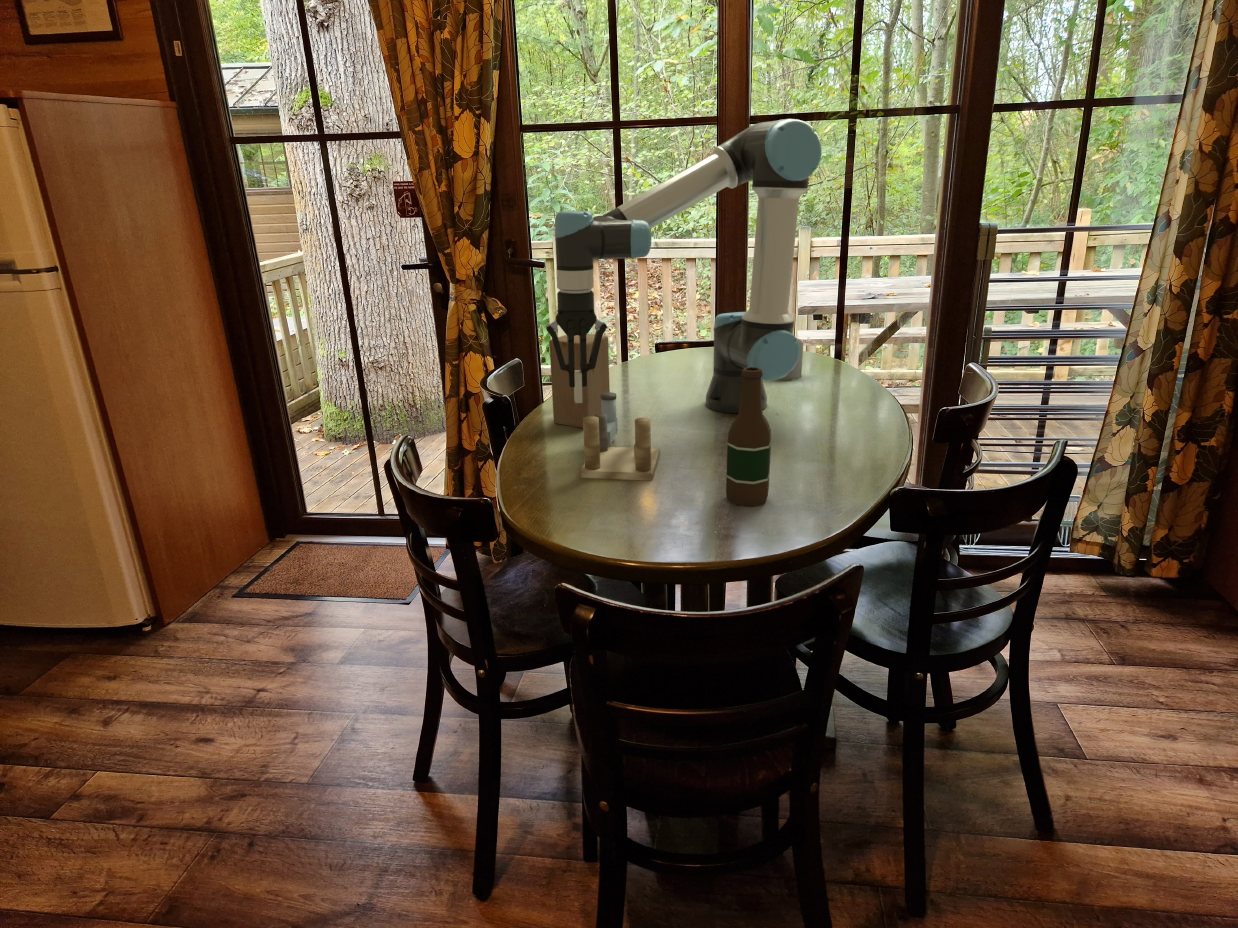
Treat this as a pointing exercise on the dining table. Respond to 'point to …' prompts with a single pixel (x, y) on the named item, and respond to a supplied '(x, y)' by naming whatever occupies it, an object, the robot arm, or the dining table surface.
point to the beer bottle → (749, 446)
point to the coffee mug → (798, 368)
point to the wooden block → (591, 394)
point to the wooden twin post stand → (618, 452)
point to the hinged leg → (610, 414)
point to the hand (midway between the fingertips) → (578, 401)
